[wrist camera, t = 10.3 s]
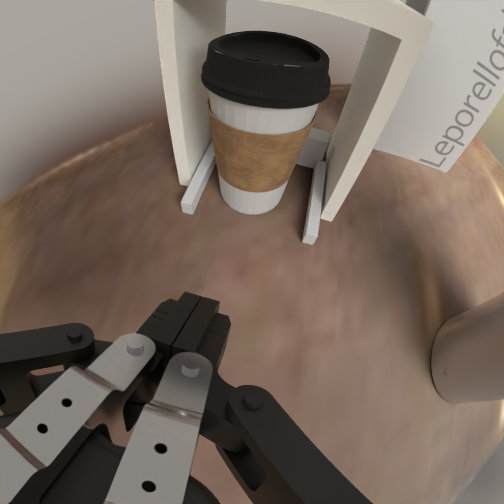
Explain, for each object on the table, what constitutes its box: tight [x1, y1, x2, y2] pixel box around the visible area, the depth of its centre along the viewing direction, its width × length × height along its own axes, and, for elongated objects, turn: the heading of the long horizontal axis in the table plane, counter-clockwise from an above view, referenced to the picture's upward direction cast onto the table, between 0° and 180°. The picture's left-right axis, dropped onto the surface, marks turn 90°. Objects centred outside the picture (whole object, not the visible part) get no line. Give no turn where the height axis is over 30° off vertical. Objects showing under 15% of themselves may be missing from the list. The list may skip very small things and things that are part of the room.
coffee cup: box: [201, 31, 330, 215], centre depth 19 cm, size 8×8×15 cm
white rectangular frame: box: [153, 0, 434, 245], centre depth 18 cm, size 15×13×20 cm
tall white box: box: [373, 0, 504, 173], centre depth 19 cm, size 14×6×30 cm, turn 85°
